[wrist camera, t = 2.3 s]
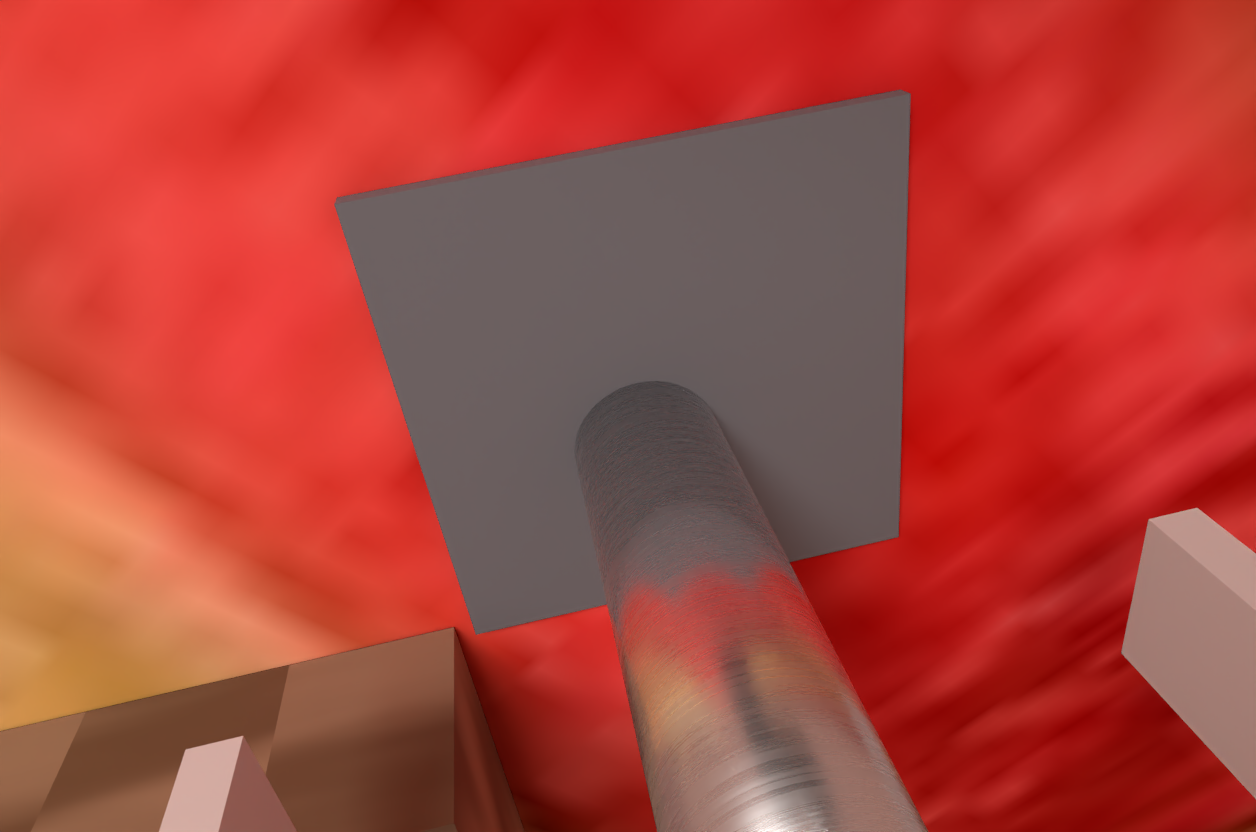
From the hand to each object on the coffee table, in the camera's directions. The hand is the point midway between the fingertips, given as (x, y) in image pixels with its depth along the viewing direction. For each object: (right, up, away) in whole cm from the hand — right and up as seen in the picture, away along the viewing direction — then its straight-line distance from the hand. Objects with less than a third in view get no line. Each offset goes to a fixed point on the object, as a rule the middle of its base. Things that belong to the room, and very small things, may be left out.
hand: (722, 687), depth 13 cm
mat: (-1, +5, +5) cm, 7 cm away
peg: (-1, +3, +5) cm, 6 cm away
